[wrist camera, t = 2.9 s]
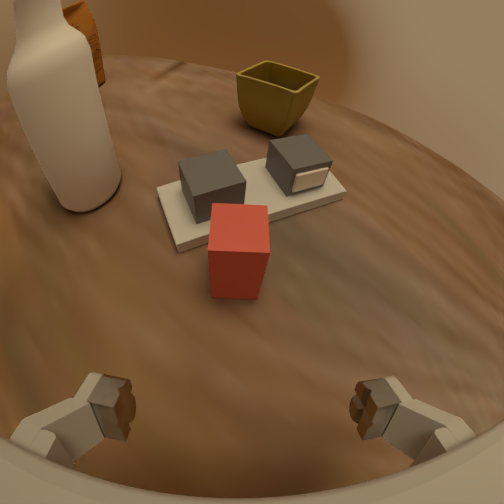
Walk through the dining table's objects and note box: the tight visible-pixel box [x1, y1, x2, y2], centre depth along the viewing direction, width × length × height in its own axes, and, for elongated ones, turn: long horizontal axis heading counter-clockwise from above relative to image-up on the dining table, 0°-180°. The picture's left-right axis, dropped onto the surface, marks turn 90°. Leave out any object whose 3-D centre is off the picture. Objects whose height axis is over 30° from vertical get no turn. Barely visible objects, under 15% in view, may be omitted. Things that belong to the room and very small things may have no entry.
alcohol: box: [7, 0, 121, 212], centre depth 18 cm, size 9×9×30 cm
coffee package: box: [62, 0, 105, 87], centre depth 35 cm, size 10×12×22 cm
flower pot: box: [236, 60, 320, 137], centre depth 36 cm, size 9×9×9 cm
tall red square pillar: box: [208, 203, 270, 299], centre depth 23 cm, size 4×4×8 cm
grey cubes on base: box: [157, 134, 346, 253], centre depth 29 cm, size 20×8×6 cm, turn 115°
